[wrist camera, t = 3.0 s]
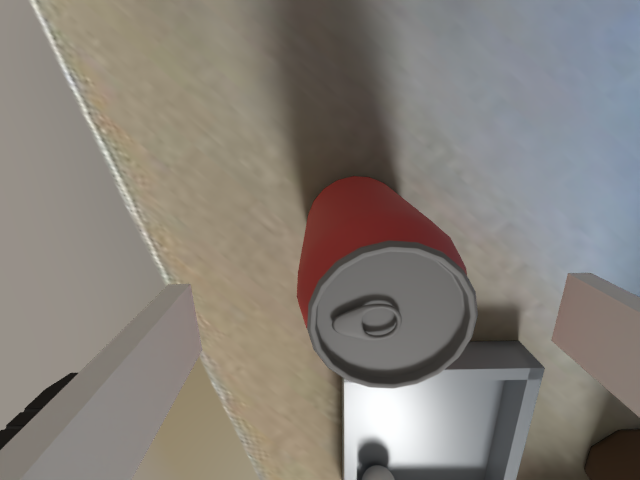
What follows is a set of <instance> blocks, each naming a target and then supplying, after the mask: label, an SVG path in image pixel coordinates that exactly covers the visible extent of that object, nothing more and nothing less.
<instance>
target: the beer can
mask: <svg viewBox="0 0 640 480" xmlns="http://www.w3.org/2000/svg"><path fill="white" fill-rule="evenodd" d="M297 299H298V302H299V306H300V309H301V312H302V315H303V319H304V322H305V325H306V328H307V330H308V333H309V336H310V339H311V342H312V345H313V349H314V350H315V352H316V353H317V354H318V356H319V357H320V358H321V359H322V361H323V362H324V363H325V365H326V366H327V367H328V368H329V369H331V370H332V371H334V372H335V373H337V374H338V375H340V376H341V377H343V378H344V379H346V380H348V381H351V382H354V383H357V384H360V385H363V386H366V387H373V388H392V389H394V388H399V387H404V386H409V385H414V384H418V383H420V382H423V381H425V380H427V379H429V378H431V377H433V376H435V375H438V374H440V373H441V372H442V371H443V370H445V369H446V368H447V367H448V366H449V365H451V364H452V363H453V362H454V361H455V360H456V359H458V358H459V356H460V355H461V353H462V352H463V350H464V349H465V347H466V346H467V344H468V343H469V341H470V340H471V338H472V335H473V332H474V328H475V324H476V320H477V316H478V312H477V302H476V293H475V290H474V288H473V286H472V285H471V283H470V281H469V279H468V277H467V272H466V267H465V265H464V263H463V261H462V259H461V257H460V255H459V253H458V251H457V250H456V248H455V246H454V244H453V242H452V240H451V238H450V237H449V236H448V235H447V234H445V233H444V232H443V231H442V230H441V229H440V228H439V227H438V226H436V225H435V224H434V223H433V222H432V221H431V220H429V219H428V218H427V217H426V216H424V215H423V214H422V213H421V212H419V211H418V210H417V209H416V208H414V207H413V206H412V205H411V204H409V203H408V202H407V201H406V200H404V199H403V198H402V197H401V196H399V195H398V194H397V193H396V192H394V191H393V190H392V189H391V188H389V187H388V186H387V185H386V184H384V183H382V182H380V181H377V180H375V179H372V178H370V177H358V176H352V177H348V178H344V179H340V180H337V181H335V182H334V183H332V184H331V185H329V186H327V187H326V188H324V189H323V190H322V192H321V193H320V194H319V195H318V196H317V198H316V199H315V200H314V202H313V204H312V207H311V209H310V212H309V214H308V219H307V225H306V230H305V236H304V242H303V247H302V253H301V259H300V264H299V270H298V284H297Z"/></svg>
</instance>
